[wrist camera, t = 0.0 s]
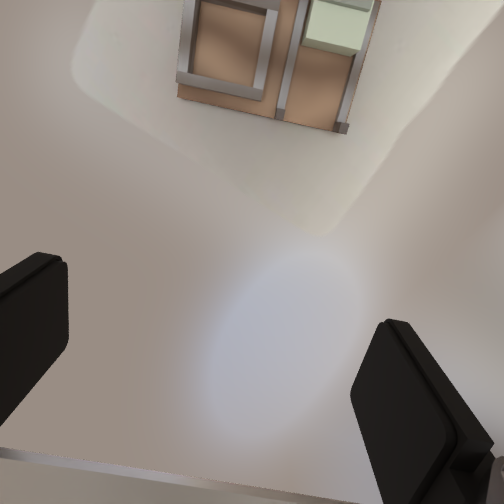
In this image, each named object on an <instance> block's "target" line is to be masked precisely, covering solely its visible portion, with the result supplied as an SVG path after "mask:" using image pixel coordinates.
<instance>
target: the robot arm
mask: <svg viewBox="0 0 504 504" xmlns="http://www.w3.org/2000/svg"><path fill="white" fill-rule="evenodd" d="M68 339H69V320H68V267H67V263H66V262H63V261H62V258H61V257H60V256H57V255H52V254H47V253H41V252H36V253H34V254H32V255H31V256H29V257H28V258H26V259H24V260H23V261H21V262H20V263H18V264H16V265H14V266H13V267H11V268H10V269H8V270H6V271H5V272H3V273H1V274H0V426H1V425H2V424H3V423H4V422H5V420H6V419H7V418H8V417H9V416H10V414H11V413H12V412H13V411H14V410H15V408H16V407H17V406H18V405H19V403H20V402H21V401H22V400H23V399H24V398H25V397H26V395H27V394H28V393H29V392H30V390H31V389H32V388H33V387H34V386H35V384H36V383H37V382H38V381H39V380H40V379H41V377H42V376H43V375H44V374H45V372H46V371H47V370H48V369H49V368H50V367H51V365H52V364H53V363H54V362H55V361H56V359H57V358H58V357H59V356H60V355H61V353H62V352H63V351H64V350H65V348H66V346H67V343H68ZM350 397H351V402H352V405H353V408H354V412H355V415H356V418H357V421H358V424H359V428H360V431H361V434H362V437H363V440H364V443H365V446H366V450H367V453H368V456H369V459H370V462H371V466H372V469H373V472H374V475H375V478H376V481H377V485H378V487H379V491H380V494H381V497H382V500H383V504H504V456H500V457H498V458H495V457H494V456H493V454H492V453H491V451H490V449H491V448H492V446H493V445H494V442H493V440H492V439H491V438H490V436H489V435H488V433H487V432H486V431H485V430H484V428H483V427H482V425H481V424H480V422H479V421H478V420H477V418H476V417H475V415H474V414H473V412H472V411H471V410H470V408H469V407H468V405H467V404H466V403H465V401H464V400H463V398H462V397H461V396H460V394H459V393H458V391H457V390H456V389H455V387H454V386H453V384H452V383H451V381H450V380H449V379H448V377H447V376H446V374H445V373H444V372H443V370H442V369H441V367H440V366H439V365H438V363H437V362H436V360H435V359H434V358H433V356H432V355H431V354H430V352H429V351H428V349H427V348H426V346H425V345H424V344H423V342H422V341H421V339H420V338H419V337H418V335H417V334H416V332H415V331H414V330H413V328H412V327H411V325H410V324H409V323H408V322H404V321H399V320H393V319H386V320H385V321H384V322H381V323H379V325H378V326H377V328H376V331H375V333H374V336H373V338H372V340H371V343H370V345H369V348H368V350H367V352H366V354H365V357H364V359H363V362H362V364H361V366H360V369H359V371H358V373H357V376H356V378H355V381H354V383H353V385H352V388H351V393H350ZM0 504H358V503H352V502H346V501H339V500H334V499H328V498H321V497H316V496H309V495H304V494H297V493H291V492H285V491H279V490H273V489H267V488H260V487H254V486H248V485H242V484H236V483H229V482H223V481H217V480H210V479H204V478H197V477H191V476H185V475H178V474H172V473H166V472H160V471H153V470H147V469H140V468H134V467H128V466H121V465H114V464H108V463H102V462H95V461H88V460H81V459H75V458H68V457H62V456H56V455H49V454H42V453H36V452H29V451H22V450H16V449H9V448H3V447H0Z"/></svg>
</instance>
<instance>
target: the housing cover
mask: <svg viewBox="0 0 504 504" xmlns="http://www.w3.org/2000/svg"><path fill="white" fill-rule="evenodd" d="M374 1H375V0H311V4H310V8H309V13H308V17H307V21H306V26H305V30H304V35H303V39H302V44H301V45H302V46H306V47H311V48H315V49H319V50H324V51H328V52H332V53H336V54H341V55H345V56H349V57H351V56H352V55H354V54H356V53H357V52H359V51H360V50H361V46H362V43H363V39H364V36H365V32H366V29H367V25H368V22H369V18H370V15H371V11H372V8H373V4H374Z"/></svg>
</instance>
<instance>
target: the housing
mask: <svg viewBox="0 0 504 504" xmlns="http://www.w3.org/2000/svg"><path fill="white" fill-rule="evenodd" d="M310 4H311V0H184V4H183V14H182V24H181V34H180V44H179V54H178V64H177V74H176V82H177V83H179V84H178V94H177V97H179V98H183V99H188V100H192V101H197V102H201V103H206V104H210V105H215V106H219V107H224V108H229V109H233V110H238V111H242V112H247V113H251V114H256V115H260V116H265V117H269V118H274V119H278V120H283V121H288V122H292V123H297V124H301V125H306V126H310V127H315V128H319V129H324V130H328V131H333V132H337V133H342V134H347V131H348V127H349V124H348V123H346V121H347V118H348V114H349V111H350V107H351V104H352V101H353V97H354V94H355V90H356V87H357V84H358V80H359V77H360V73H361V70H362V66H363V63H364V60H365V56H366V53H367V49H368V46H369V42H370V39H371V36H372V32H373V29H374V25H375V22H376V19H377V15H378V12H379V8H380V5H381V1H380V0H375V1H374V4H373V8H372V11H371V15H370V18H369V22H368V25H367V29H366V32H365V36H364V39H363V43H362V46H361V50H360V51H359V52H357V53H356V54H354V55H352V56H351V57H349V56H345V55H341V54H336V53H332V52H328V51H324V50H319V49H315V48H311V47H306V46H302V45H301V44H302V39H303V35H304V30H305V26H306V21H307V17H308V13H309V8H310Z"/></svg>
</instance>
